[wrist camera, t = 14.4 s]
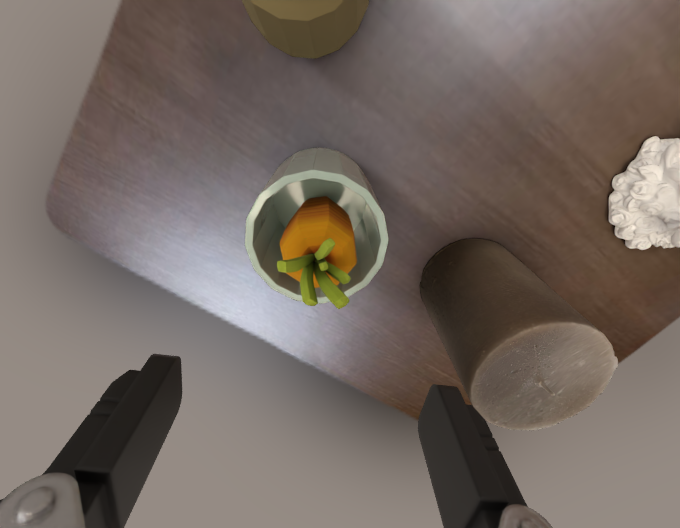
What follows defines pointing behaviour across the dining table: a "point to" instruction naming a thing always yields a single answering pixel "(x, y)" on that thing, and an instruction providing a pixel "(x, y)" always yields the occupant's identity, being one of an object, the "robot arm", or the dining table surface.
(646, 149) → the cherub figurine
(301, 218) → the carrot
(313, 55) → the squeeze bottle
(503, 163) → the dining table surface
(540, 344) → the pillar candle
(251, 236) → the tumbler
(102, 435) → the robot arm
